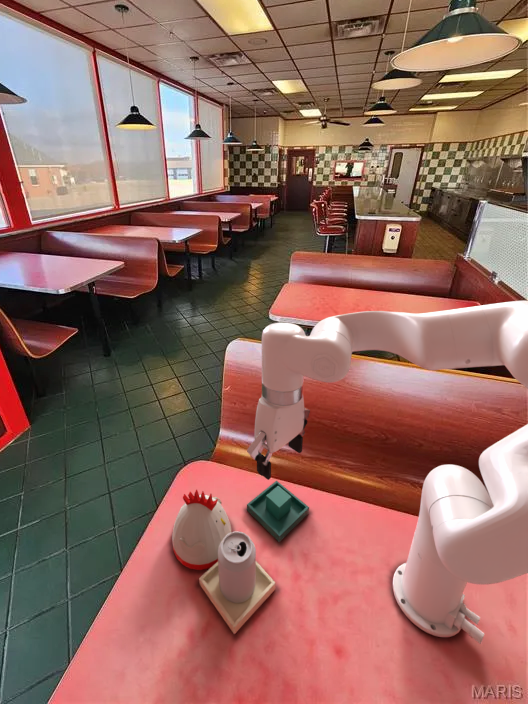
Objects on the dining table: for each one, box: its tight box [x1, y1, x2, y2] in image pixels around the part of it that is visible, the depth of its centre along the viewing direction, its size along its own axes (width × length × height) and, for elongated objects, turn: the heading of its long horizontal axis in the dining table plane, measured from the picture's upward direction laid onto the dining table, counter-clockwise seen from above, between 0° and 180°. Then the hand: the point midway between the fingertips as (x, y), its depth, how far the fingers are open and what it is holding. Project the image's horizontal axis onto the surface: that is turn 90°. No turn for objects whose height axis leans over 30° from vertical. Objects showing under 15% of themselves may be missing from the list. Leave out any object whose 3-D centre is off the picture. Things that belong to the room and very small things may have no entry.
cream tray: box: [198, 560, 277, 635], centre depth 68 cm, size 11×11×2 cm
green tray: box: [246, 480, 310, 543], centre depth 84 cm, size 11×11×2 cm
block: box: [266, 486, 291, 520], centre depth 83 cm, size 4×4×4 cm
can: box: [218, 530, 257, 603], centre depth 66 cm, size 8×8×12 cm
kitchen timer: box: [171, 488, 232, 571], centre depth 75 cm, size 14×14×15 cm
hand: (280, 461), depth 67 cm, fingers open, 9 cm apart
